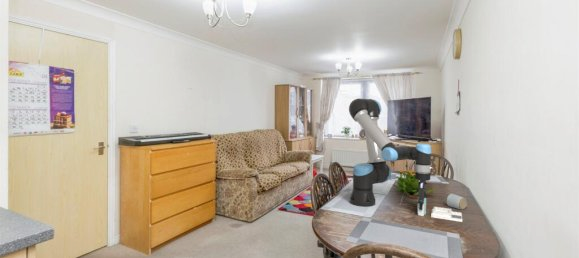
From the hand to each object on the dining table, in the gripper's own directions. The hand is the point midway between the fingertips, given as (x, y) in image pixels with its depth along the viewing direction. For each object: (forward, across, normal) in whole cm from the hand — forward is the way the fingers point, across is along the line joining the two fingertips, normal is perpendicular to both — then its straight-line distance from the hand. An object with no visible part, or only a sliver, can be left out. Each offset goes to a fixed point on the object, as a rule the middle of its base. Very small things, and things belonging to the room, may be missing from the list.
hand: (421, 212), depth 159 cm
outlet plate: (0, +1, -12) cm, 12 cm away
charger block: (0, 0, 0) cm, 0 cm away
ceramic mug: (+1, +21, -18) cm, 27 cm away
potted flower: (0, +34, +7) cm, 35 cm away
